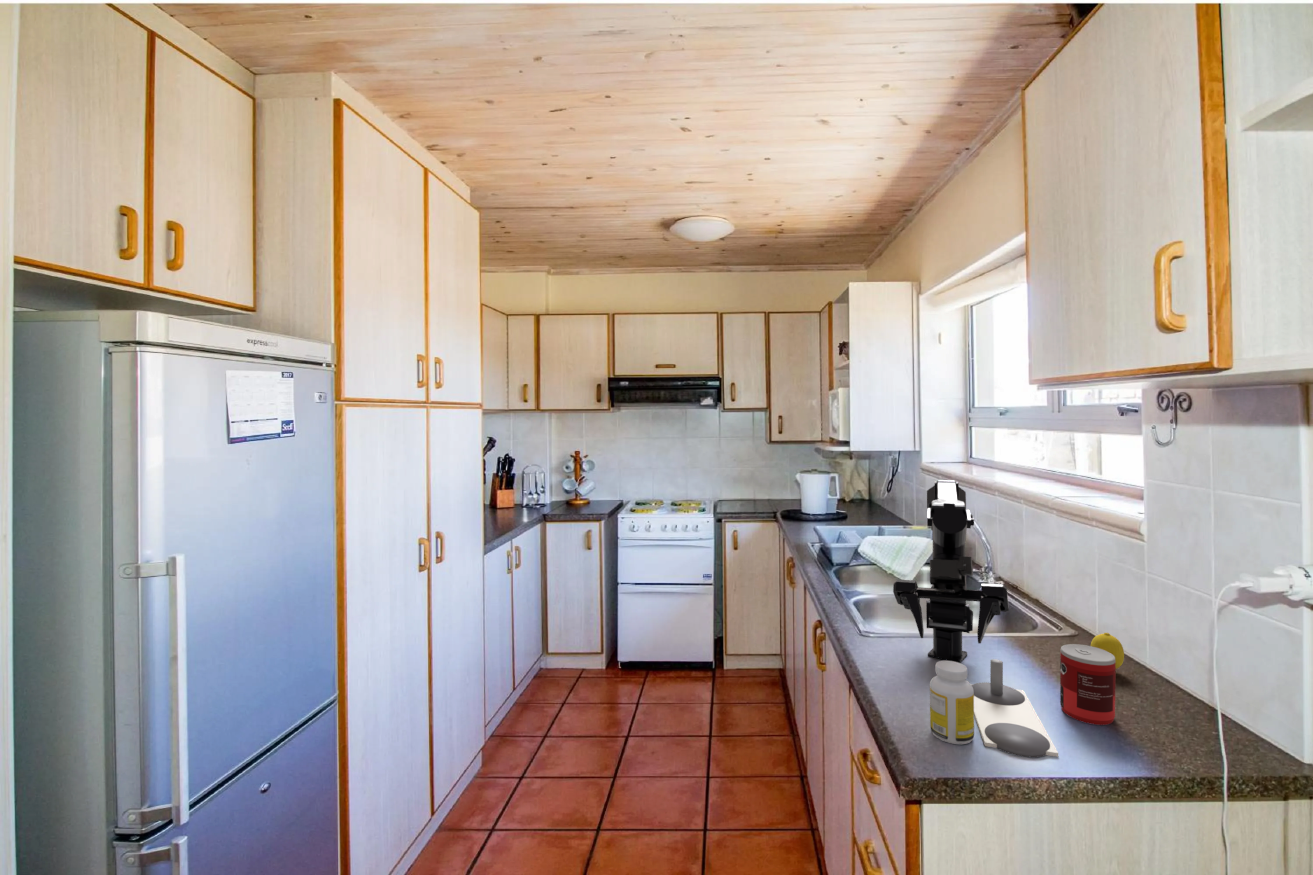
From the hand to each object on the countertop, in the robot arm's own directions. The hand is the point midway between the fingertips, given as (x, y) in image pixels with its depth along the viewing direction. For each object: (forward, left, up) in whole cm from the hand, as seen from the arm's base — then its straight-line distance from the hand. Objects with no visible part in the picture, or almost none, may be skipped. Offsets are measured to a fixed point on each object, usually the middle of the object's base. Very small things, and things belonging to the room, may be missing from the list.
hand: (949, 639), depth 106 cm
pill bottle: (+8, +2, -13) cm, 16 cm away
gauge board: (-4, +8, -13) cm, 16 cm away
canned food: (-14, +18, -13) cm, 26 cm away
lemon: (-37, +20, -13) cm, 44 cm away
